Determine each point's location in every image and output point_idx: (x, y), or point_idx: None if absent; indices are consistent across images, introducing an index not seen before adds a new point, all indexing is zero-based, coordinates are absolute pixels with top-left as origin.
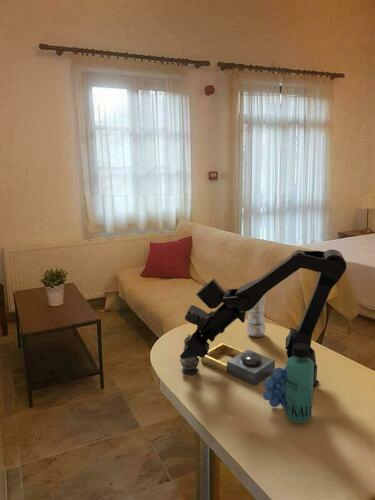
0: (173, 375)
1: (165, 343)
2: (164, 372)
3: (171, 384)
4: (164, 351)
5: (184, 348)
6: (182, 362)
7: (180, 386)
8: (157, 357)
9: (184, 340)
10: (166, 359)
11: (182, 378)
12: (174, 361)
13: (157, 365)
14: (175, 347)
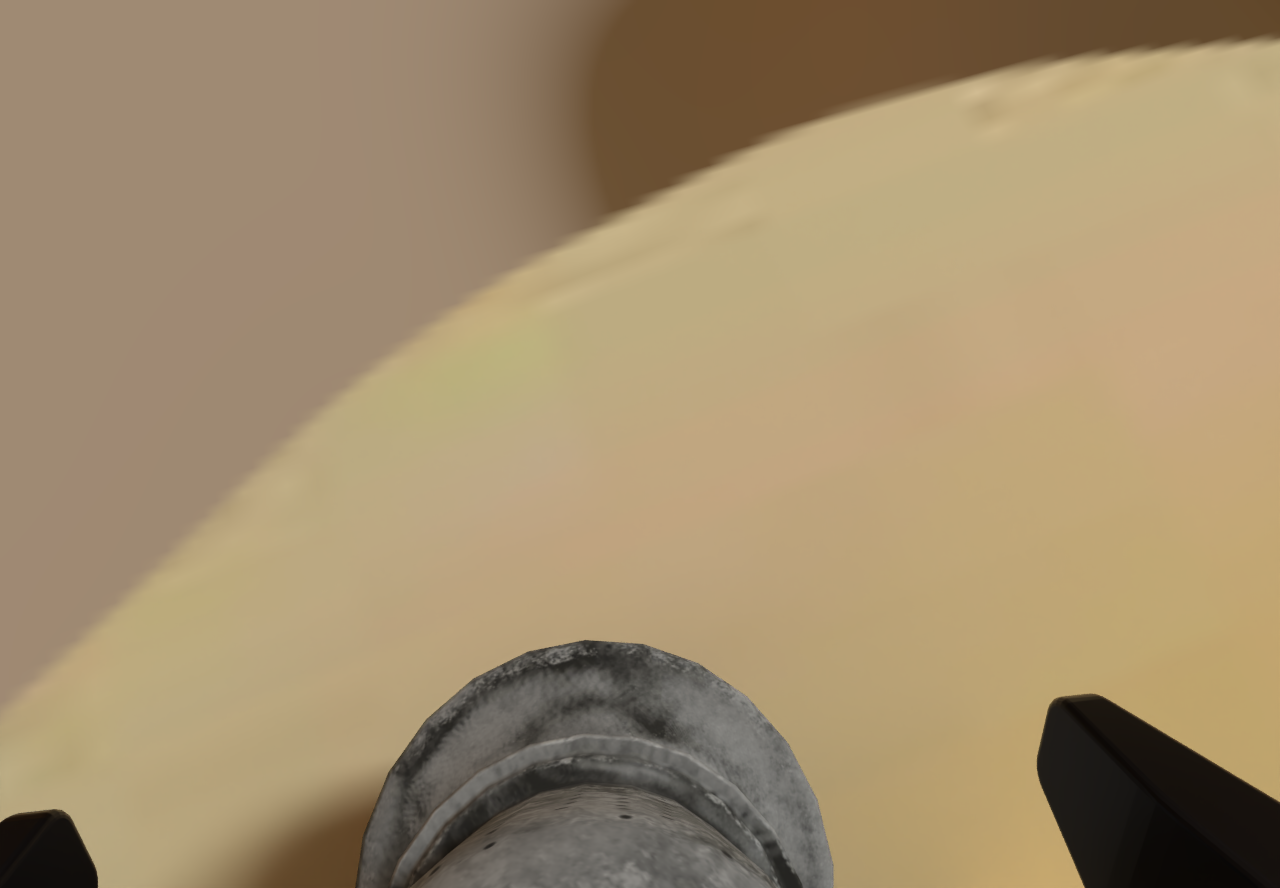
0: (370, 607)
1: (1252, 123)
2: (425, 430)
3: (85, 684)
4: (1023, 196)
5: (508, 796)
6: (426, 755)
7: None
8: (814, 169)
9: (484, 838)
10: (810, 312)
11: (309, 805)
12: (800, 455)
13: (594, 254)
14: (1220, 305)
